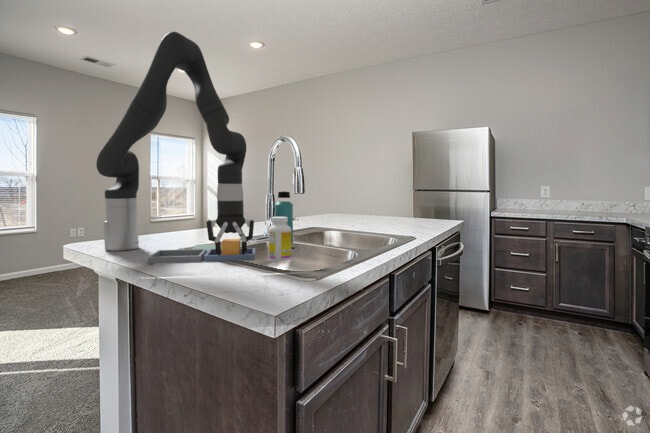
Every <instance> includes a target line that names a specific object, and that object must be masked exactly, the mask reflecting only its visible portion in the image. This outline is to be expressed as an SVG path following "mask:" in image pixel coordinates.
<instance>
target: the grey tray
mask: <svg viewBox="0 0 650 433" xmlns="http://www.w3.org/2000/svg"><path fill="white" fill-rule="evenodd" d="M206 253H207V249H193V248H191V249H190V248H189V249H158V250H156V252H154V253H152V254H151V255H149V256H148V257H147V258H146V259H147V265H149V266H150V265H151V266H152V265H155V264H157V263H158V264H159V263H161V264H163V263H193V262H195V263H197V262H198V263H199V262H202V260H204V255H205V254H206Z"/></svg>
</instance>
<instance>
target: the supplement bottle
mask: <svg viewBox="0 0 650 433" xmlns="http://www.w3.org/2000/svg"><path fill="white" fill-rule="evenodd" d="M287 221H288V217H274V216H272V217H271V222H272V224H271V225H270V226H269V227H268V259H269V261H274V262H275V261H277V262H283V261H289V260H292V246H291V228H290V226H288V225H287Z"/></svg>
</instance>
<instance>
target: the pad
mask: <svg viewBox="0 0 650 433" xmlns="http://www.w3.org/2000/svg"><path fill="white" fill-rule="evenodd" d="M192 249H207V252H208V250H209V249H215V243H214V244H213V243H212V244H196V245H195V246H193V248H192ZM221 249H222V243H221Z"/></svg>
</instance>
